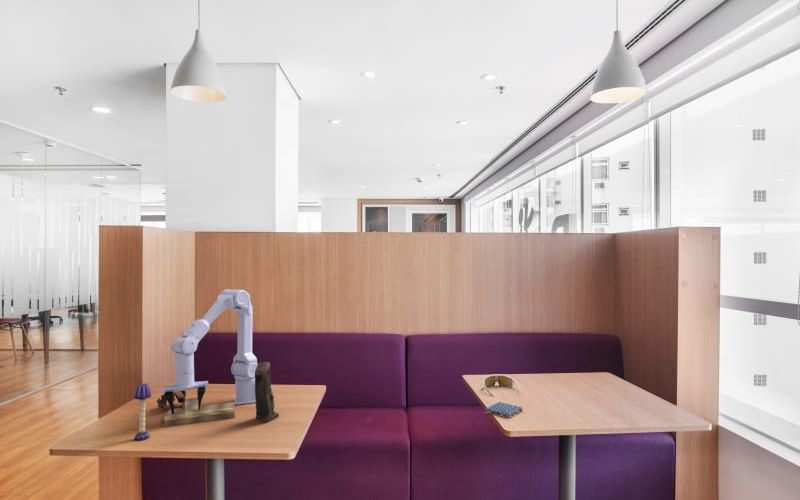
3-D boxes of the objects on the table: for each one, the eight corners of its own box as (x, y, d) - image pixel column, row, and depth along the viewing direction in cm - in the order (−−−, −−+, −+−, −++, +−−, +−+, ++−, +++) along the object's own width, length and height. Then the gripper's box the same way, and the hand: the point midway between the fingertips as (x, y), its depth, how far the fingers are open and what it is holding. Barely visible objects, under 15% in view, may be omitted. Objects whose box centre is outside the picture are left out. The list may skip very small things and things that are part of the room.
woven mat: (482, 413, 162) (482, 408, 162) (498, 406, 169) (498, 400, 169) (509, 420, 154) (508, 414, 154) (524, 412, 162) (524, 406, 162)
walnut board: (234, 407, 172) (234, 397, 172) (234, 417, 161) (234, 407, 161) (169, 415, 165) (169, 405, 165) (164, 426, 153) (164, 416, 153)
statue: (279, 416, 161) (278, 359, 161) (267, 424, 154) (266, 364, 154) (263, 414, 163) (262, 358, 163) (250, 422, 156) (249, 363, 156)
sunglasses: (512, 384, 195) (512, 373, 194) (524, 401, 180) (524, 389, 179) (479, 386, 194) (479, 374, 193) (488, 402, 179) (488, 390, 178)
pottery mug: (182, 413, 167) (169, 396, 166) (161, 424, 169) (148, 406, 167) (197, 395, 179) (185, 378, 177) (178, 405, 180) (165, 388, 179)
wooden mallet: (196, 406, 167) (196, 393, 167) (198, 415, 158) (198, 400, 158) (184, 408, 165) (184, 394, 165) (185, 417, 156) (185, 402, 156)
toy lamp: (139, 435, 146) (138, 382, 147) (154, 434, 147) (153, 382, 147) (131, 441, 142) (130, 387, 142) (147, 440, 142) (146, 386, 142)
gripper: (206, 366, 166) (207, 404, 165) (161, 372, 159) (162, 411, 159) (208, 370, 159) (209, 410, 159) (161, 376, 153) (162, 417, 153)
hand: (185, 411), depth 159 cm, fingers open, 7 cm apart
